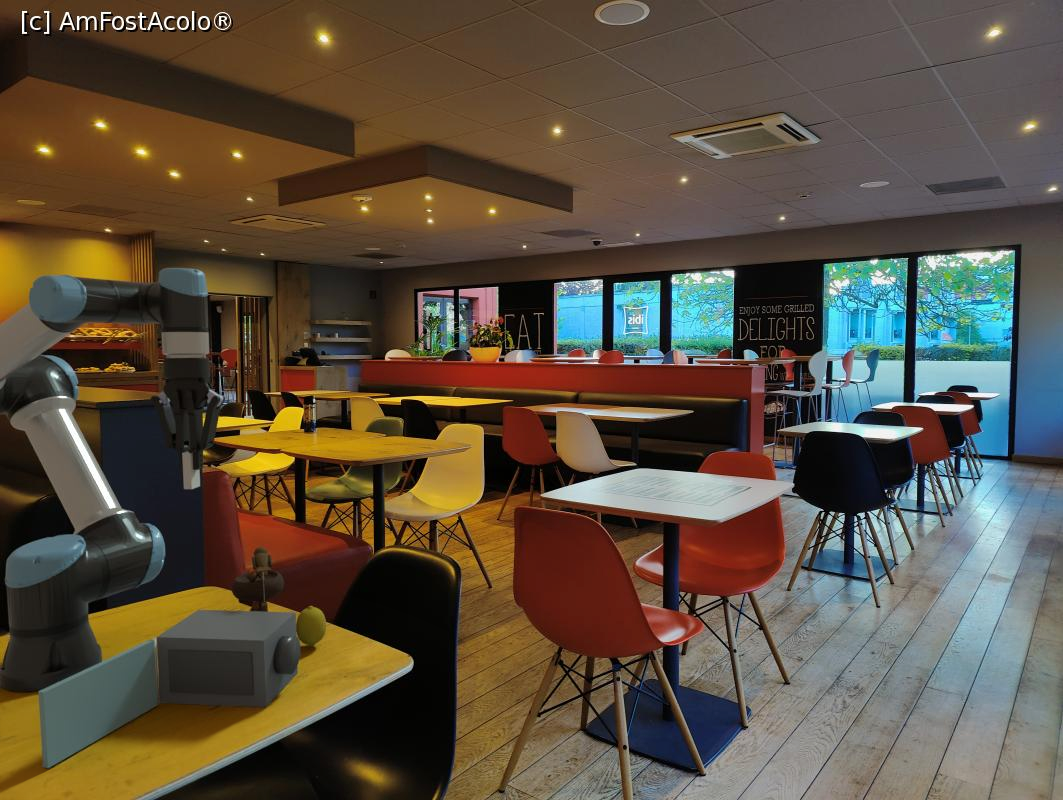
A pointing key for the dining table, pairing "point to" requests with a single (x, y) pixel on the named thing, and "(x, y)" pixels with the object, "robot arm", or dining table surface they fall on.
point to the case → (228, 658)
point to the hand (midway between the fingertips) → (192, 487)
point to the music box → (258, 583)
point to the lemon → (311, 626)
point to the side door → (97, 701)
